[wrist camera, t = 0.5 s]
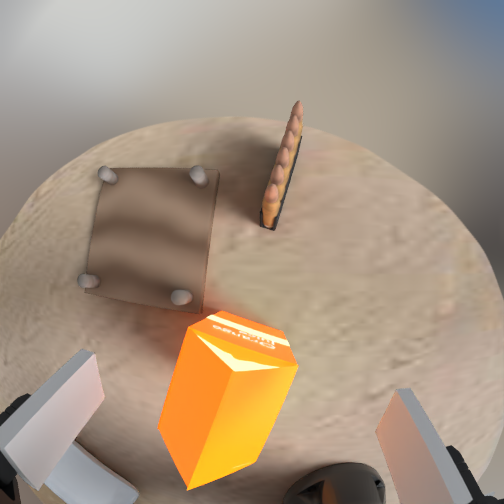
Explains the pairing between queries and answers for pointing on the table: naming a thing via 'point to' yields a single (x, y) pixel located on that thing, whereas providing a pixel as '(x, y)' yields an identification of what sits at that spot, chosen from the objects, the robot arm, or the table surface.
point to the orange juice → (224, 396)
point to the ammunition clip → (282, 170)
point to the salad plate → (88, 480)
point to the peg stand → (152, 236)
